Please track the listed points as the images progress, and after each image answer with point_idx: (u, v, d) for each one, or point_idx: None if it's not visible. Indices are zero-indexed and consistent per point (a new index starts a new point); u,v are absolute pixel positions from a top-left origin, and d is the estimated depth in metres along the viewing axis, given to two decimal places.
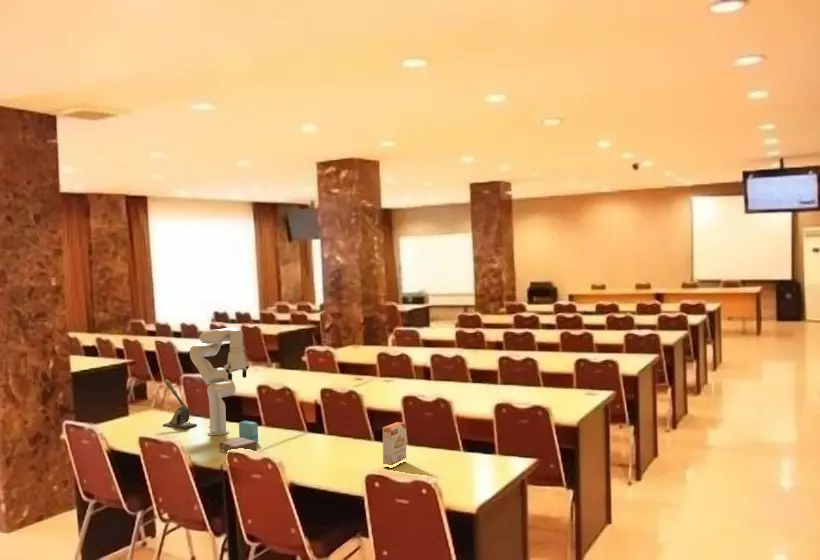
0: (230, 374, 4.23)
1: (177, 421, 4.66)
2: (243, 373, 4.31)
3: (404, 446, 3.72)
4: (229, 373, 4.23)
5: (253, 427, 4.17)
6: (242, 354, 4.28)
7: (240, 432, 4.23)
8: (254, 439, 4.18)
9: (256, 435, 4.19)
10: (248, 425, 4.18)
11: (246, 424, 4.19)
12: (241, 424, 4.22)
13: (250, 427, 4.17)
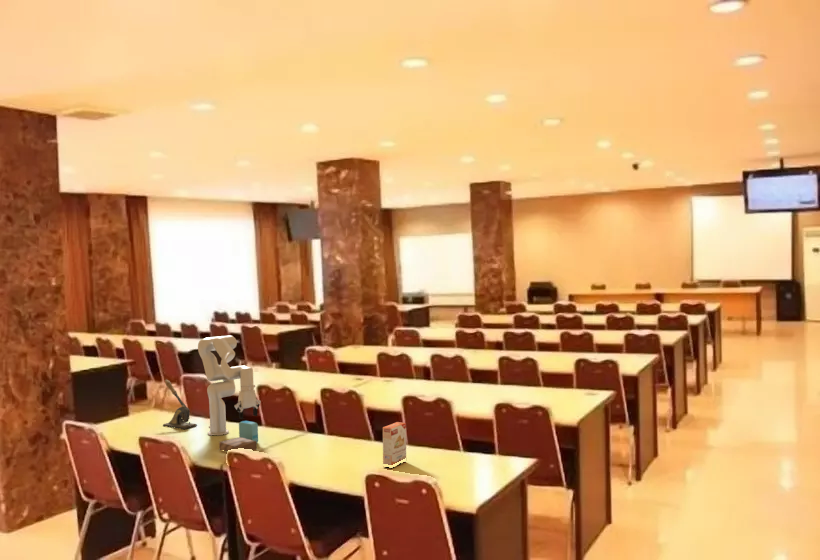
0: (241, 413, 4.17)
1: (177, 421, 4.66)
2: (254, 411, 4.25)
3: (404, 446, 3.72)
4: (240, 412, 4.17)
5: (253, 427, 4.17)
6: (253, 392, 4.21)
7: (240, 432, 4.23)
8: (254, 439, 4.18)
9: (256, 435, 4.19)
10: (248, 425, 4.18)
11: (246, 424, 4.19)
12: (241, 424, 4.22)
13: (250, 427, 4.17)
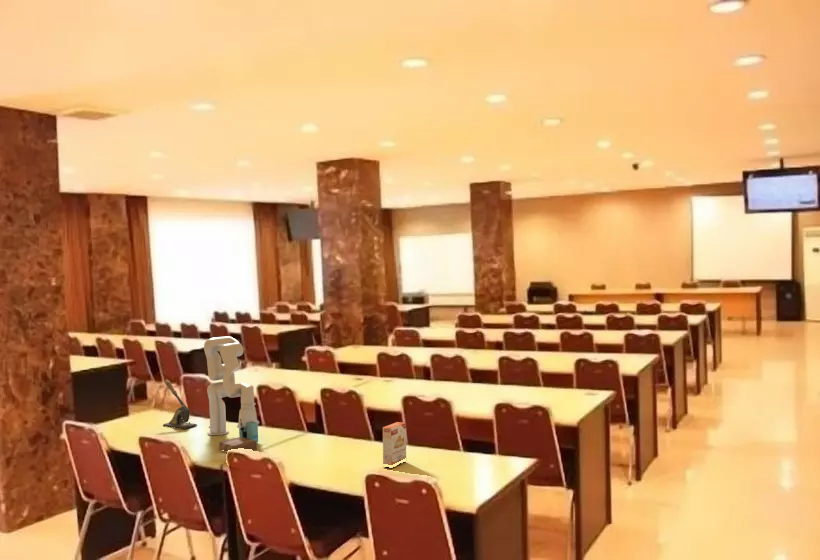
0: (244, 432, 4.19)
1: (177, 421, 4.66)
2: None
3: (404, 446, 3.72)
4: (243, 431, 4.19)
5: (253, 427, 4.17)
6: (253, 410, 4.22)
7: (240, 432, 4.23)
8: (254, 439, 4.18)
9: (256, 435, 4.19)
10: (248, 425, 4.18)
11: None
12: None
13: (250, 427, 4.17)
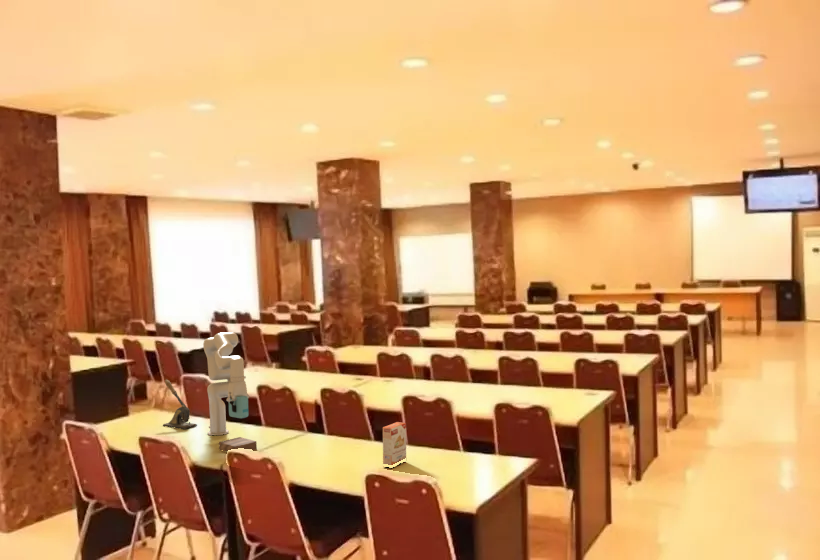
0: (234, 406, 4.05)
1: (177, 421, 4.66)
2: None
3: (404, 446, 3.72)
4: (233, 405, 4.05)
5: (243, 400, 4.03)
6: (243, 383, 4.08)
7: (230, 406, 4.09)
8: (244, 413, 4.04)
9: (246, 409, 4.05)
10: (238, 398, 4.04)
11: None
12: None
13: (240, 400, 4.03)
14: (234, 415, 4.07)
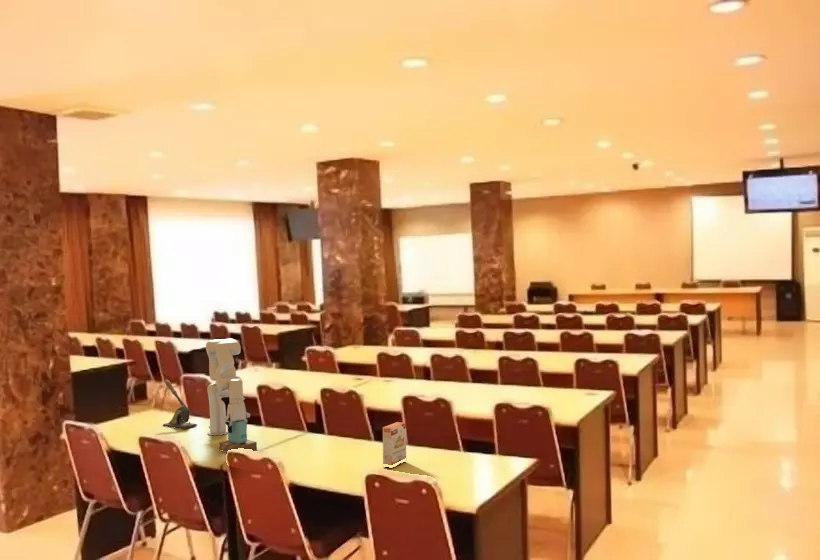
0: None
1: (177, 421, 4.66)
2: None
3: (404, 446, 3.72)
4: (229, 426, 4.01)
5: (241, 426, 4.02)
6: (242, 405, 4.06)
7: None
8: (242, 438, 4.02)
9: (245, 434, 4.03)
10: (236, 424, 4.03)
11: (234, 423, 4.04)
12: None
13: (238, 426, 4.01)
14: (233, 440, 4.05)
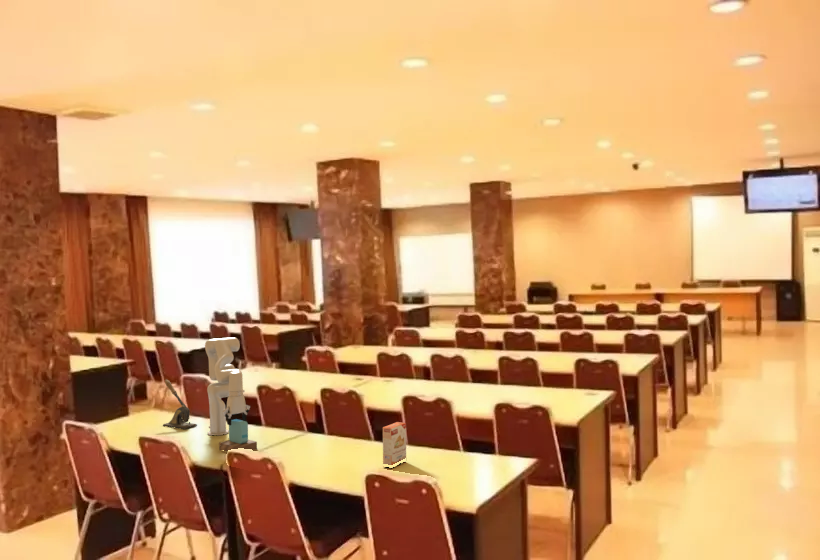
0: (229, 419, 4.02)
1: (177, 421, 4.66)
2: (243, 417, 4.10)
3: (404, 446, 3.72)
4: (228, 418, 4.02)
5: (243, 426, 4.02)
6: (242, 398, 4.06)
7: (230, 431, 4.08)
8: (244, 438, 4.02)
9: (246, 434, 4.03)
10: (238, 424, 4.03)
11: (236, 423, 4.04)
12: (231, 423, 4.07)
13: (240, 426, 4.01)
14: (234, 440, 4.05)
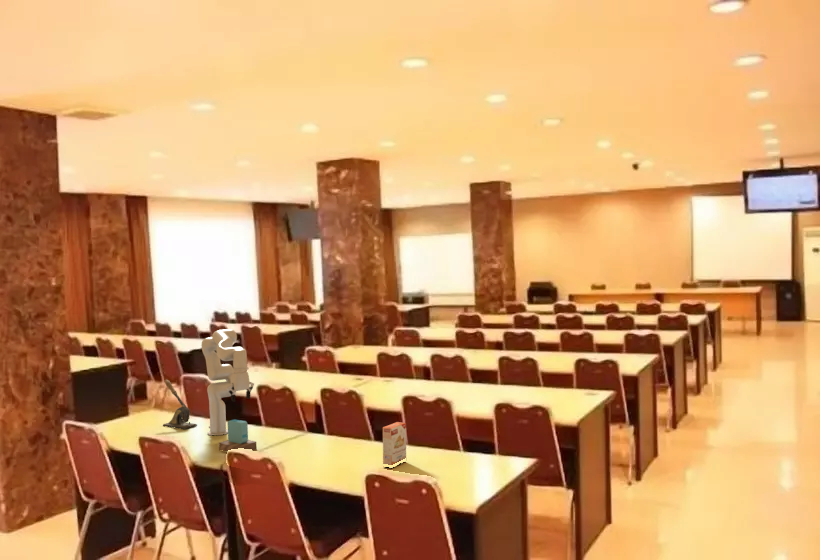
0: (233, 395, 4.08)
1: (177, 421, 4.66)
2: (247, 394, 4.15)
3: (404, 446, 3.72)
4: (232, 394, 4.08)
5: (243, 426, 4.02)
6: (246, 375, 4.12)
7: (229, 431, 4.07)
8: (244, 438, 4.02)
9: (246, 434, 4.04)
10: (237, 424, 4.02)
11: (235, 423, 4.04)
12: (230, 423, 4.06)
13: (240, 426, 4.01)
14: (233, 440, 4.05)
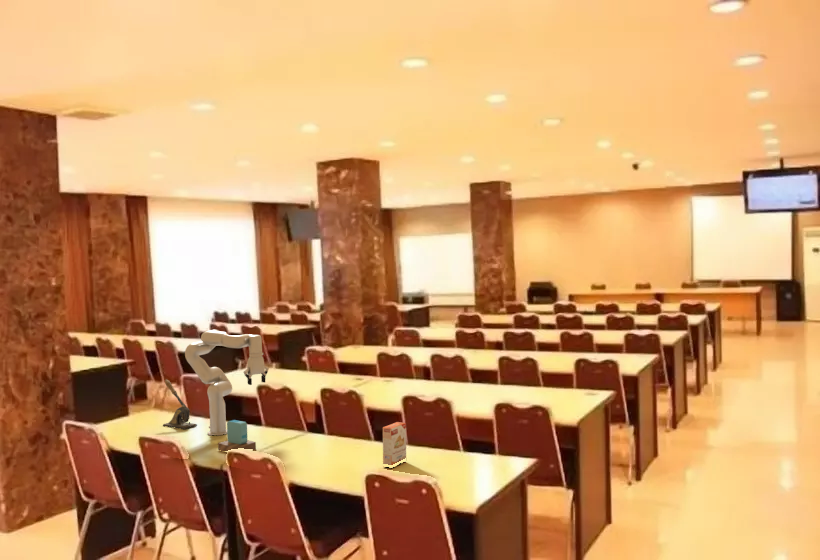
0: None
1: (177, 421, 4.66)
2: (262, 378, 4.38)
3: (404, 446, 3.72)
4: (249, 378, 4.30)
5: (242, 426, 4.01)
6: (261, 359, 4.35)
7: (228, 432, 4.07)
8: (243, 439, 4.02)
9: (245, 435, 4.03)
10: (237, 424, 4.02)
11: (235, 423, 4.03)
12: (229, 423, 4.06)
13: (239, 426, 4.01)
14: (233, 441, 4.05)
